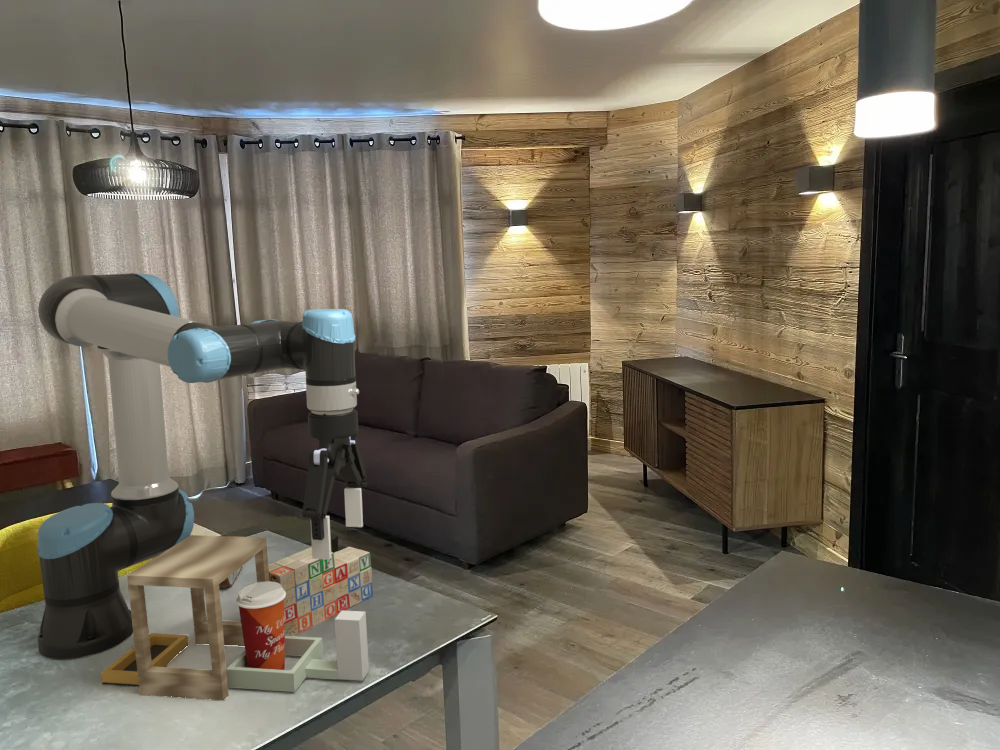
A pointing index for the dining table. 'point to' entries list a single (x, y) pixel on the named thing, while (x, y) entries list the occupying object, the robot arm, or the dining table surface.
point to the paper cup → (263, 624)
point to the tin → (230, 580)
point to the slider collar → (311, 659)
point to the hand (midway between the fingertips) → (339, 541)
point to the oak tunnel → (196, 569)
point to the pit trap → (161, 655)
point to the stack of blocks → (321, 585)
